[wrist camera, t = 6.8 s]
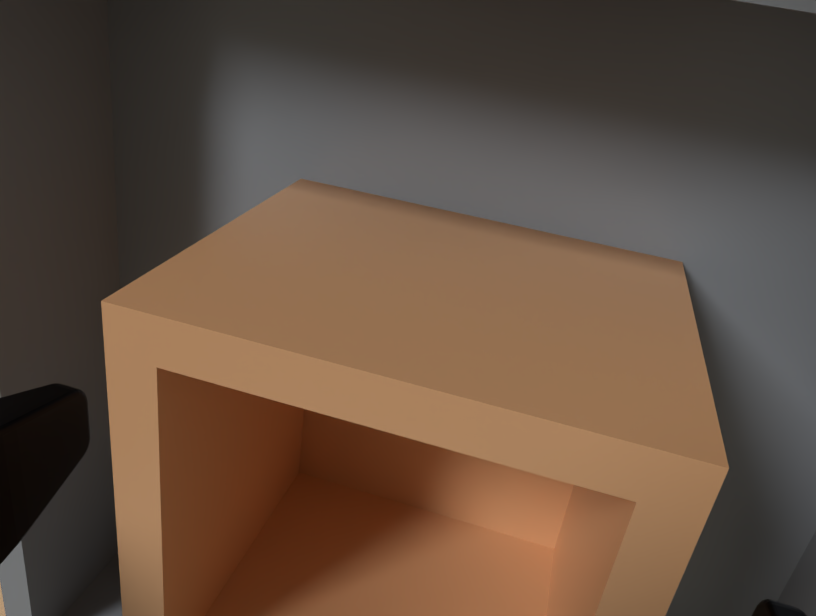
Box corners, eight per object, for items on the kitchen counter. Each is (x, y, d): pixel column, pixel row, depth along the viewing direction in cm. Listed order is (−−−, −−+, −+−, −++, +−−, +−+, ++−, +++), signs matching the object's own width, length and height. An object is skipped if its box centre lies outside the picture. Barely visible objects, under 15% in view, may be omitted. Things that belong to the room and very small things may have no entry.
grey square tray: (1137, 7, 8) (1447, 21, 5) (722, 737, 14) (750, 939, 11) (86, -150, 11) (-129, -204, 8) (122, 533, 17) (12, 655, 14)
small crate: (682, 262, 10) (728, 469, 6) (581, 559, 13) (562, 852, 9) (300, 178, 11) (100, 300, 7) (280, 469, 14) (127, 690, 10)
